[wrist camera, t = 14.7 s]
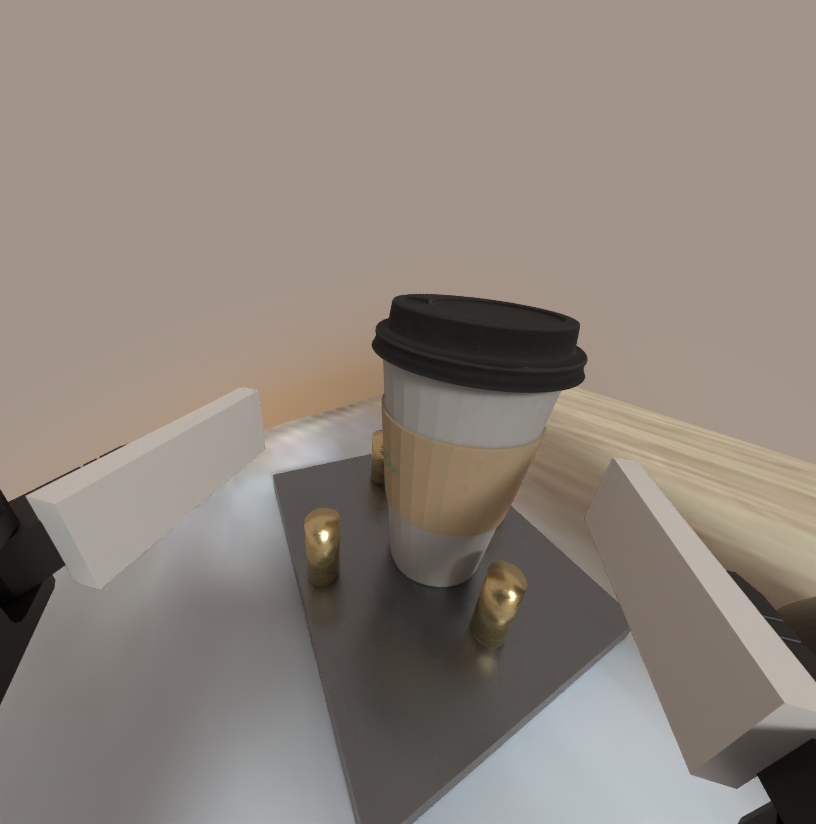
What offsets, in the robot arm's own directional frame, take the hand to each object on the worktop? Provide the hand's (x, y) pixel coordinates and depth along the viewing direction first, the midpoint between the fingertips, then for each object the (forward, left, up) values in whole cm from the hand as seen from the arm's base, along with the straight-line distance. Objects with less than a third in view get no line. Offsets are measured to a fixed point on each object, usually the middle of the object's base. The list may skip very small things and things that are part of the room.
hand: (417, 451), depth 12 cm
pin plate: (+4, -4, -12) cm, 13 cm away
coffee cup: (+3, -4, -10) cm, 12 cm away
